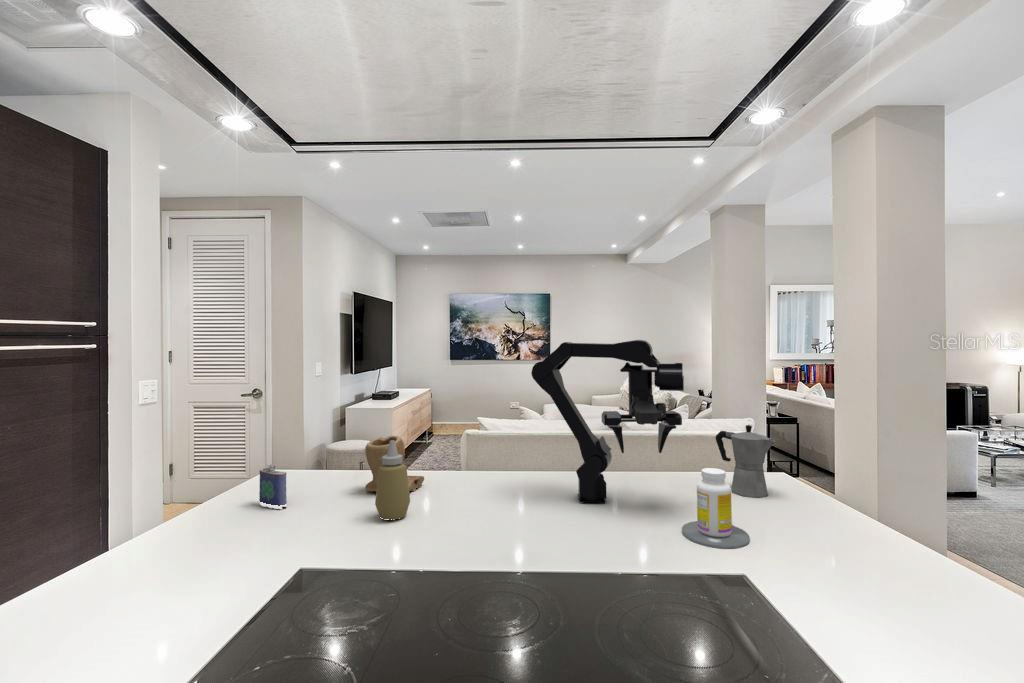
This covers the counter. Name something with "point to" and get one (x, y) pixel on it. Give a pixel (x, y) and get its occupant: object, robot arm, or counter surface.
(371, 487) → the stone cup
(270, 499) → the flask
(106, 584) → the counter surface
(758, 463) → the coffeepot
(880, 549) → the counter surface
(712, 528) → the supplement bottle
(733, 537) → the slate trivet
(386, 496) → the squeeze bottle
